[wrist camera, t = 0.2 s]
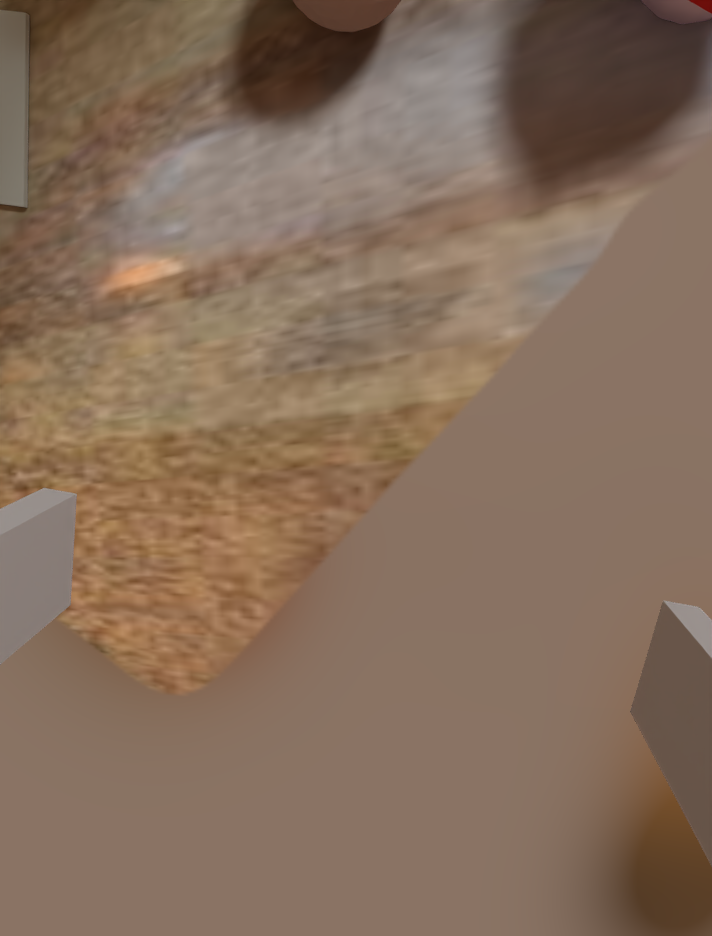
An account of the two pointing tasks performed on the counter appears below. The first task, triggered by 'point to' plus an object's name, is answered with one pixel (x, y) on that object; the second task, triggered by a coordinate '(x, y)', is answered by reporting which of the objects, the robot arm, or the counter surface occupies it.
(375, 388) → the counter surface
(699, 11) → the mushroom
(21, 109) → the mat
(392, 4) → the egg
